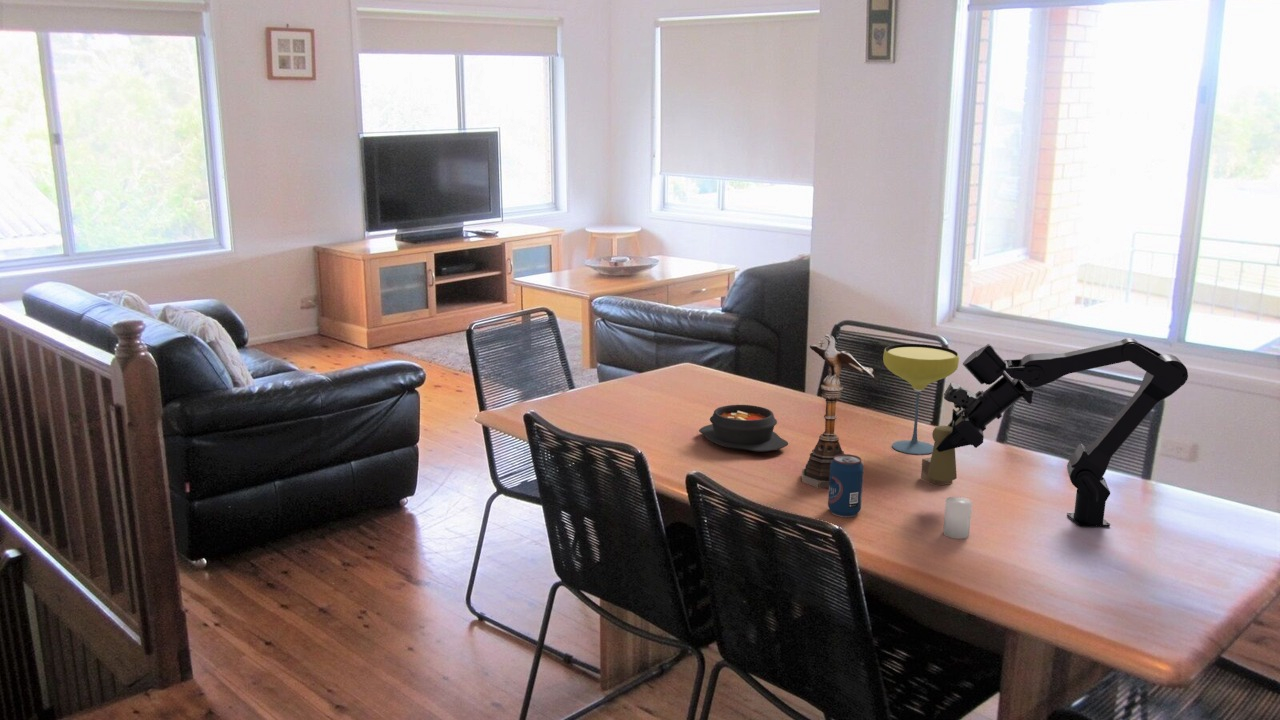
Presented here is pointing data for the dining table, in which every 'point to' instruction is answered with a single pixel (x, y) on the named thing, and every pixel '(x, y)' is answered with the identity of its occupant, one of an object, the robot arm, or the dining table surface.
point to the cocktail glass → (919, 378)
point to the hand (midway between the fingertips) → (937, 446)
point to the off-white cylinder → (957, 517)
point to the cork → (942, 457)
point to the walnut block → (925, 473)
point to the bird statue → (829, 413)
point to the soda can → (845, 485)
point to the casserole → (744, 428)
